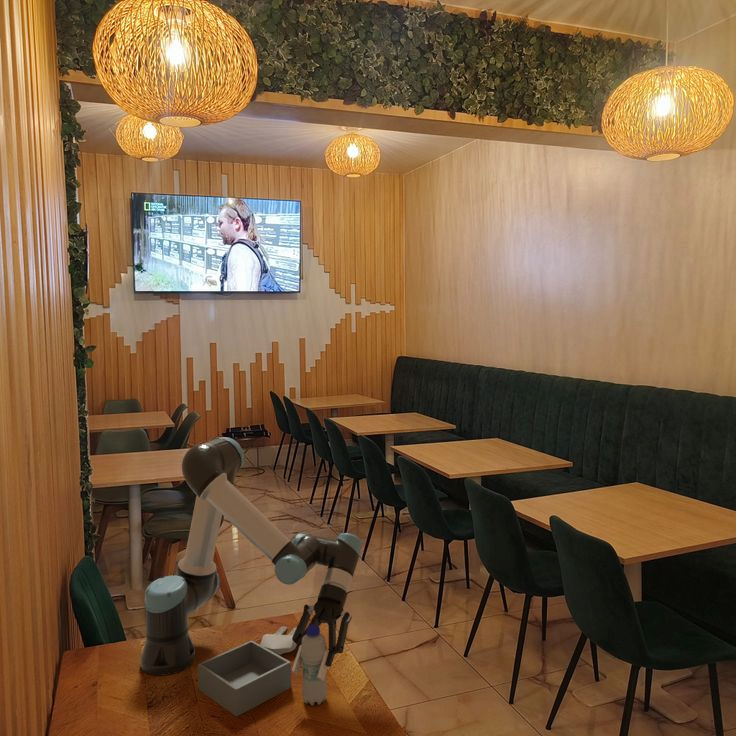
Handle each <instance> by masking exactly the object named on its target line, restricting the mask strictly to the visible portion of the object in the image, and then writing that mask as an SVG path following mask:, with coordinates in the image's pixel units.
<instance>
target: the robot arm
mask: <svg viewBox="0 0 736 736" xmlns="http://www.w3.org/2000/svg"><path fill="white" fill-rule="evenodd" d="M244 462H245V454H244V450H243V448H242V447H241V445H240V443H238V441H236V440H235V439H233V438H231V437H225V436H222V437H216V438H213V439H212V440H209V441H205V442H203V443H199V444H195V445H193V446H192V447H191V448H189V449H188V450H187V451H186V453H185V454H184V456H183V458H182V461H181V473H182V476H183V478H184V481H185V482H186V484H187V486H189V488H190V490H192V492H193V493H194V494H195V495H196V497H195V501H194V502H195V503H194V506H193V507H194V508H193V513H192V518H191V524H190V529H189V534H188V538H187V544H186V549H185V554H184V557H182V558H181V559H180V560H179V561H178V564H177V569H176V574H175V575H166V576H163V577H159V578H157V579H155V580H154V581H151V583H150V584H149V585H148V586H147V587H146V589H145V591H144V602H143V603H144V615H145V617H144V618H145V632H146V635H145V636H146V637H145V638H146V640H145V642H144V646H143V648H142V653H141V656H140V668H141V670H142V672H144V673H146V674H149V675H153V676H166V675H172V674H176V673H179V672H181V671H184V670H185V669H188V668H189V667H190V666H191V665H192V664H193V663H194V662H195V661H196V649H195V645H194V643H193V641H192V638H191V635H190V633H189V619H188V617H189V616H190V615H191V614H192V613H194V612H195V611H196V610H198V609H199V608H200V607H202V606H203V605H205V604H206V603H208V602H209V601H210V600H211V599H212V598H213V597H214V595H215V594H216V593H217V592H218V589H219V586H220V576H219V575H220V574H219V573H218V572H217V571H218V570H217V564H216V563H215V562H214V558H215V557H214V555H215V552H216V547H217V541H218V537H219V531H220V527H221V521H222V518H223V517H224V518H225V519H227V521H229V523H231V524H232V525H233V527H234V528H236V530H238V531H239V532H240V533H241V534H242V535H243V536H244V537H245V538H246V539H247V540H249V542H250V543H251V544H253V546H254V547H255V548H256V549H257V550H258V551H259V552H260V553H261V554H263V556H265V558H267V559H268V560H269V561H270V562H271V563H272V565H274V574H275V576H276V579H277V580H278V582H280V583H282V584H283V585H288V586H290V585H294V584H296V583H298V582H299V581H301V580H302V579H304V577H305V576H306V574H308V573H309V572H310V571H311V570H312V569H313V568H314V567H316V565H319V566H324V567H327V568H326V569H327V570H326V572H325V574H324V575H325V576H324V578H323V580H322V585H321V587H320V590H319V593H318V596H317V601H316V602H315V603H314V605H308V604H304V606H303V612H302V614H301V617H300V619H299V621H298V624H297V626H296V627H297V628H296V630H295V633H294V635H293V637H292V640H293V641H294V642H295V643H296V648H295V649H294V654H293V658H294V662H293V666H292V667H291V673H293V674H294V675H297V676H299V672H300V670H301V667H302V665H303V661H302V660H303V659H302V657H301V645H302V638H303V636H305V635H306V634H307V627H308V626H310V625H318V626H321V625H322V624H327V625H328V648H327V650H326V651H325V653H324V656H323V660H322V663H321V666H320V669H319V673H318V676H317V677H318V678H319V679H320V680H321V681H324V678H325V674H327V671H328V668H331V667H332V665H333V661H334V658H335V655H337V654H343V652H344V649H345V645H346V640H347V639H346V638H347V633H348V629H349V624H350V622H351V621H352V619H353V616H352V615H351V614H350V613H349V612H348V611H345V610H344V607H345V604H346V601H347V598H348V592H350V587H351V585H352V581H353V578H354V574H355V571H356V568H357V564H358V561H359V559H360V554H361V551H362V546H363V542H362V540H361V539H360V538H359V537H358V536H357V535H355V534H352V533H348V532H341V533H340V534H338V535H337V537H336V539H334V538H333V539H331V538H326V537H322V536H318V535H317V536H316V535H314V534H311V533H303V532H302V533H301V532H300V533H297V534H295V536H294V538H293V539H292V541H291V540H290V539H289V537H287V536H286V535H285V534H284V533H283V532H282V531H281V530H280V529H279V528H278V527H277V526H276V525H275V524H274V523H273V522H271V520H270V519H268V517H266V516H265V515H264V514H263V512H261V511H260V510H259V509H258V508H257V507H256V506H255V505H254V504H253V503H252V502H251V501H250V500H249V499H248V498H247V497H246V496H245V495H243V493H241V492H240V490H238V488H236V487H235V485H234V482H235V478H236V474H237V473H238V472H239V471H240V470H241V469H242V467H243V466H244V464H245V463H244ZM313 613H314V614H313ZM311 615H313V616H312V618H311ZM339 618H341V620H340V626H339V630H338V635H337V620H339ZM310 619H311V621H310ZM309 621H310V622H309ZM308 623H309V624H308Z"/></svg>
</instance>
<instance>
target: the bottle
mask: <svg viewBox="0 0 736 736" xmlns="http://www.w3.org/2000/svg"><path fill="white" fill-rule="evenodd" d="M306 628H307V634H306V635H305V636H303V638H302V645H301V657H302V659H303V660H302V689H301V691H302V693H301V694H302V697H303V701H304V703H306V704H310V706H314V705H315V703H317V705H321V704H322V702H325V701H326V699H327V691H328V690H327V689H328V688H327V680H326V679H327V678H326V674H327V673H326V674H325V678H324V681H321V680H320V679H319V678H318V677H317V676H318V673H319V669H320V666H321V663H322V660H323V656H324V653H325V651H328V648H327V643H326V637H325V635H324V634H322V633H321V630H320V627H319V626H318V625H310V626H308V625H307V626H306Z"/></svg>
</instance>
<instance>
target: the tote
mask: <svg viewBox="0 0 736 736" xmlns="http://www.w3.org/2000/svg"><path fill="white" fill-rule="evenodd" d="M197 678H198V679H197V680H198V683H197V685H198V688H197V689H198V691H200V693H202V694H204V695H205V696H206V697H208V698H210V700H213V702H215V703H217V704H218V705H219V704H220V705H219V706H221V707H222V708H224V709H225V710H226V709H227V710H226V711H228V712H230V713H231V714H232V715H234V716H235V717H239V716H241V715H243V714H244V713H246V712H248V711H250V710H251V709H253V708H256V707H257V706H259V705H261V704H263V703H264V702H265V703H266V701H268V700H270V699H272V698H274V697H276V696H278V695H280V694H282V693H284V692H286V691H287V690H289V689H290V688H292V662H291V661H290V660H288V659H286V658H284V657H282V656H281V655H277V654H276V653H274V652H272V651H270V650H268V649H267V648H265V647H263V646H261V645H260V644H259V643H257V642H256V641H254V640H252V639H251V640H250V641H248V642H245V643H242V644H240V645H238V646H236V647H233V648H231V649H229V650H227V651H225V652H223V653H220V654H218V655H216V656H213V657H211V658H209V659H207V660H205V661H203V662H201V663H200V662H199V663H198V664H197Z"/></svg>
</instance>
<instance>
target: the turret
mask: <svg viewBox="0 0 736 736" xmlns="http://www.w3.org/2000/svg"><path fill="white" fill-rule="evenodd" d="M296 628H297V626H296V627H293V629H292V630H291V631H290V632H289V633H288V634H285V633H286V632H287V630H288V626H284V625H283V626H281V627H280V628H279V629H278V630H277V631H276V632H275V633H273V634H272V633H266V634H264V635H262V638H261V640H260V641H261V642H260V644H259V645H261V646H263V647H265V648H267V649H268V650H270V651H272V652H274V653H276V654H277V655H279V656H281V655H283V654H287V653H291V652H292V651H295V650H296V647H297V644H296V643H295V642H294V641H293V640H292V637H293V635H294V633H295V630H296Z"/></svg>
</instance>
